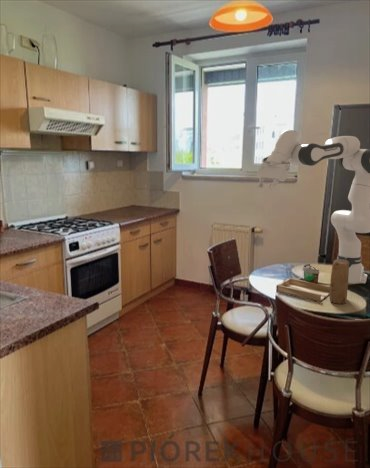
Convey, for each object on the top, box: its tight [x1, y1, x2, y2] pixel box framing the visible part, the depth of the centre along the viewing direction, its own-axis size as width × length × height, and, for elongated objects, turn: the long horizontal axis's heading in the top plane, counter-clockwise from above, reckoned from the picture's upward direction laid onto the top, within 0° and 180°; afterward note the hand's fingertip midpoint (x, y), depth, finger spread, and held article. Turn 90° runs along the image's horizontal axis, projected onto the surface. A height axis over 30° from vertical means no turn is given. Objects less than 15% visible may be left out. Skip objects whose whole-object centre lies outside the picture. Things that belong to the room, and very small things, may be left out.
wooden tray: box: [275, 277, 330, 303], centre depth 180 cm, size 15×22×4 cm
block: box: [329, 258, 349, 305], centre depth 167 cm, size 11×8×20 cm
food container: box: [301, 263, 320, 284], centre depth 192 cm, size 12×6×10 cm, turn 4°
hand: (265, 187), depth 169 cm, fingers open, 8 cm apart
